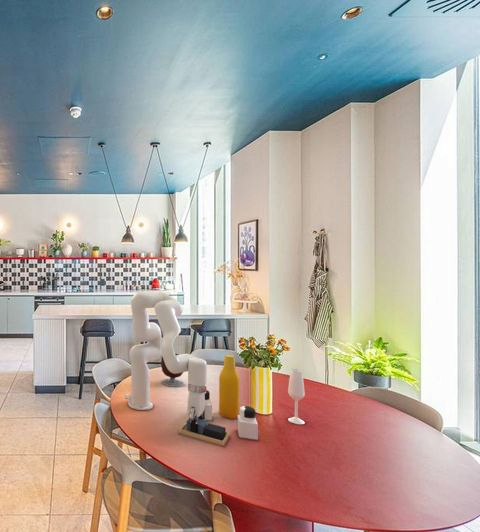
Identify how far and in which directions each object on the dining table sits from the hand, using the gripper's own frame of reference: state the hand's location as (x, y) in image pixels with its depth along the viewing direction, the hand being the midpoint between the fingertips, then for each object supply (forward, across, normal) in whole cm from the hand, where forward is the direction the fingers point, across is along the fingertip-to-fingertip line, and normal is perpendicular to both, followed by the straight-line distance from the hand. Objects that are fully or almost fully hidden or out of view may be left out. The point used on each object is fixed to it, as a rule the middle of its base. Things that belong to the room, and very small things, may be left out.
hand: (196, 428), depth 149 cm
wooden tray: (+2, 0, +3) cm, 4 cm away
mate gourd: (+3, -55, -32) cm, 64 cm away
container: (+2, -18, -3) cm, 18 cm away
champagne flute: (+2, -40, +34) cm, 53 cm away
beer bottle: (+2, -28, +7) cm, 29 cm away
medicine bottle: (+2, -11, +18) cm, 21 cm away
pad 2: (+1, 0, +8) cm, 8 cm away
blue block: (+1, 0, 0) cm, 1 cm away
